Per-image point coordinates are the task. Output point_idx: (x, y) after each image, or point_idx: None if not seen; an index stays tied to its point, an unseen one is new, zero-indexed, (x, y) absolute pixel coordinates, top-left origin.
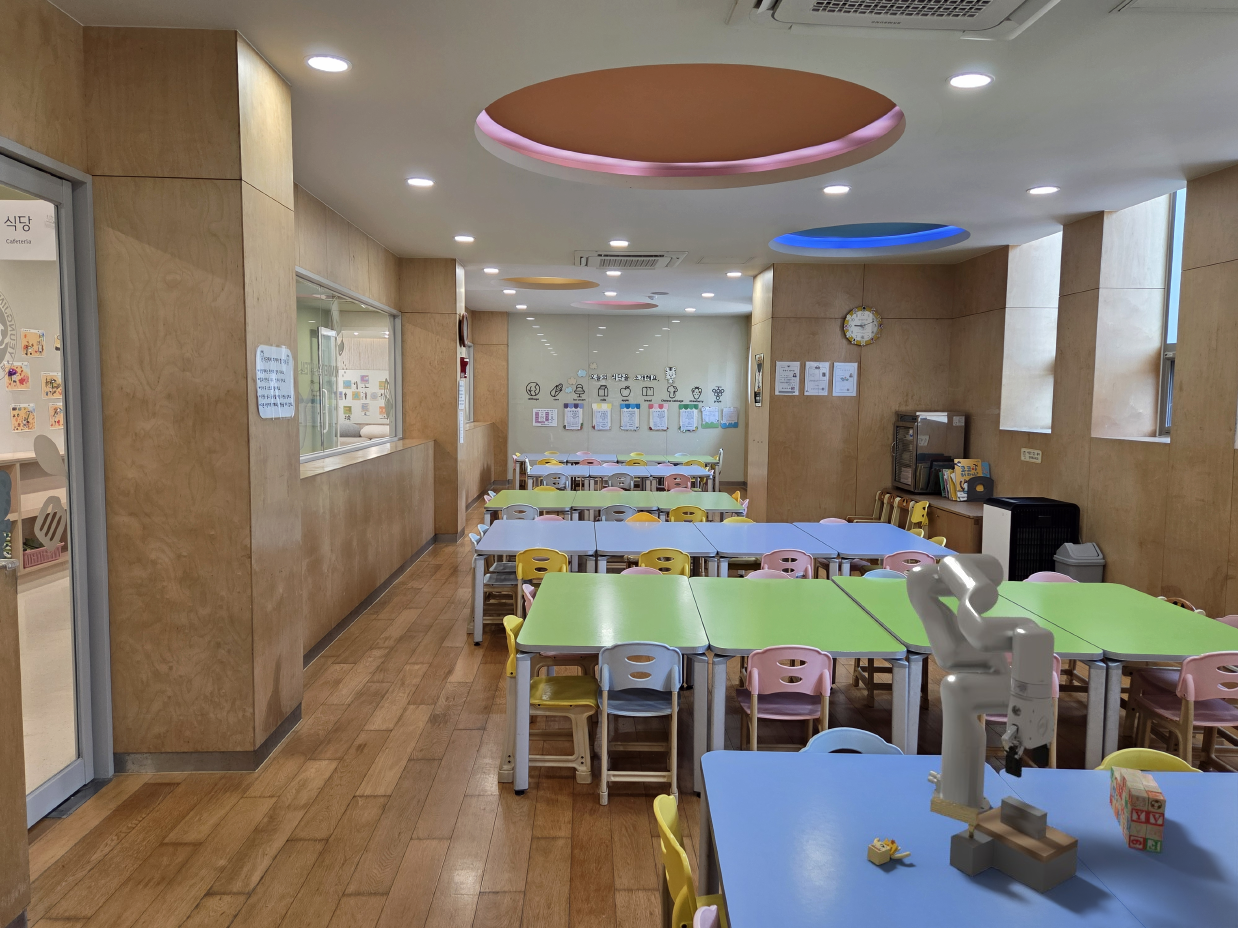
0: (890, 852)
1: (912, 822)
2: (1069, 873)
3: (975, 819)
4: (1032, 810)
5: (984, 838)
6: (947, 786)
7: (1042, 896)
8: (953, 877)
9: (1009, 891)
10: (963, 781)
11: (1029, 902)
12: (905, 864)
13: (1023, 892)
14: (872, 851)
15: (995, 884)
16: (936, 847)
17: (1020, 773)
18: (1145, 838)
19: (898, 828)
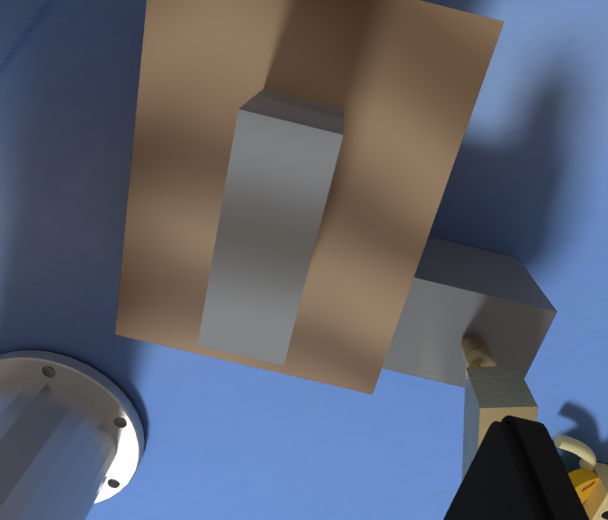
0: (596, 479)
1: (307, 483)
2: None
3: (527, 387)
4: (290, 191)
5: (436, 301)
6: (90, 506)
7: (484, 14)
8: (564, 298)
9: (532, 125)
10: (59, 496)
11: (565, 40)
12: (581, 423)
13: (504, 82)
14: None
15: (515, 179)
16: (406, 392)
17: (554, 455)
18: None
19: (376, 498)
